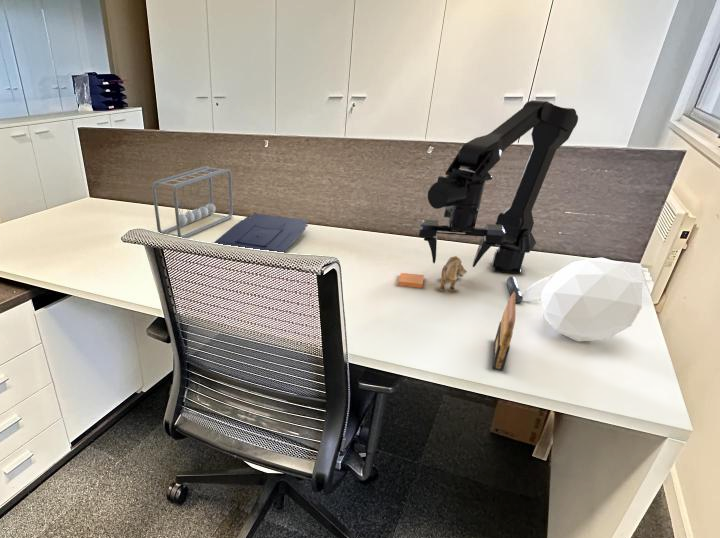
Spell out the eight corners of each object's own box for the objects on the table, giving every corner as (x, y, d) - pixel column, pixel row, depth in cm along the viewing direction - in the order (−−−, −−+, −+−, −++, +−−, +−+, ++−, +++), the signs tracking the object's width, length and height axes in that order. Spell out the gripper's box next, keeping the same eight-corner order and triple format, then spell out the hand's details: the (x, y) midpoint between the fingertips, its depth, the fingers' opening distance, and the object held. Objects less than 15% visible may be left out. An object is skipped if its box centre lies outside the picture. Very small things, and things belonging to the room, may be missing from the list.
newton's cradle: (212, 213, 188) (208, 164, 178) (233, 217, 182) (231, 167, 173) (157, 235, 168) (150, 182, 158) (179, 240, 162) (174, 186, 153)
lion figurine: (461, 298, 119) (469, 264, 114) (438, 296, 121) (445, 262, 116) (457, 275, 131) (465, 242, 126) (437, 273, 132) (443, 241, 127)
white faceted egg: (630, 261, 85) (615, 217, 106) (497, 309, 100) (506, 262, 120) (665, 338, 88) (644, 281, 109) (531, 374, 103) (534, 317, 124)
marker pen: (508, 284, 126) (517, 280, 125) (515, 305, 116) (524, 300, 115) (504, 278, 126) (512, 273, 125) (510, 298, 116) (519, 294, 115)
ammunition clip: (493, 342, 102) (509, 290, 95) (503, 344, 101) (519, 291, 95) (491, 368, 94) (508, 313, 87) (502, 371, 93) (519, 315, 87)
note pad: (423, 279, 130) (424, 274, 129) (422, 288, 125) (422, 283, 124) (399, 276, 132) (400, 272, 131) (397, 285, 127) (398, 281, 126)
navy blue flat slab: (314, 228, 164) (314, 218, 161) (275, 270, 144) (275, 258, 142) (250, 220, 174) (250, 210, 172) (206, 257, 155) (205, 247, 152)
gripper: (508, 195, 117) (492, 256, 125) (426, 190, 123) (416, 250, 131) (512, 207, 108) (495, 273, 117) (424, 202, 114) (413, 265, 123)
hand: (453, 264), depth 122 cm, fingers open, 9 cm apart
